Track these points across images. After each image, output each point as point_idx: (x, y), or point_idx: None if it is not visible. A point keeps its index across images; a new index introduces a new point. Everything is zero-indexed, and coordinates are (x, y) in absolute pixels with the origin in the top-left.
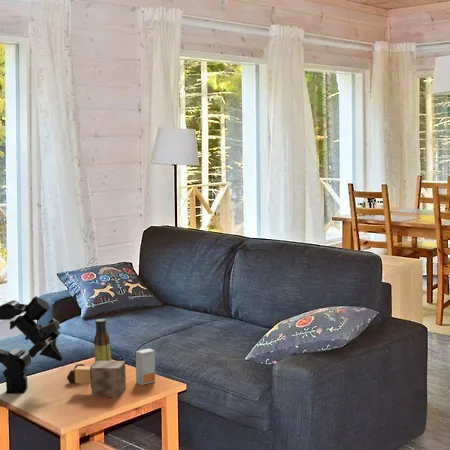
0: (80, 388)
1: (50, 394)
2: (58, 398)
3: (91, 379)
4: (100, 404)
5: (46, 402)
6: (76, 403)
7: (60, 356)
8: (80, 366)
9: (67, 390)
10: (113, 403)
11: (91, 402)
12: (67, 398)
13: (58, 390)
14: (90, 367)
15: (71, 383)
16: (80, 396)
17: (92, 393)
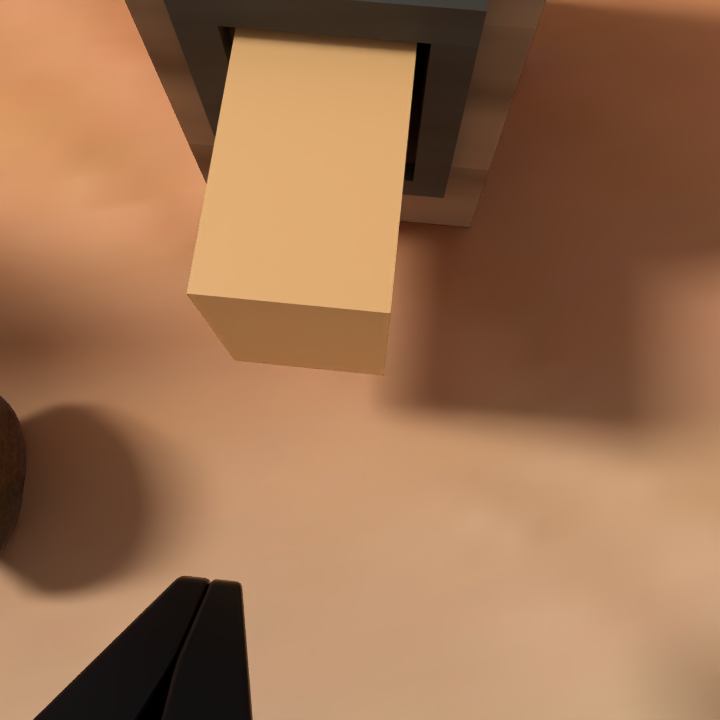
0: (192, 388)
1: (380, 706)
2: (522, 569)
3: (504, 115)
4: (680, 119)
5: (664, 686)
6: (671, 338)
7: (213, 639)
8: (229, 245)
9: (247, 523)
10: (645, 22)
11: (632, 204)
12: (521, 464)
13: None
14: (485, 13)
15: (15, 522)
16: (456, 339)
17: (477, 203)
